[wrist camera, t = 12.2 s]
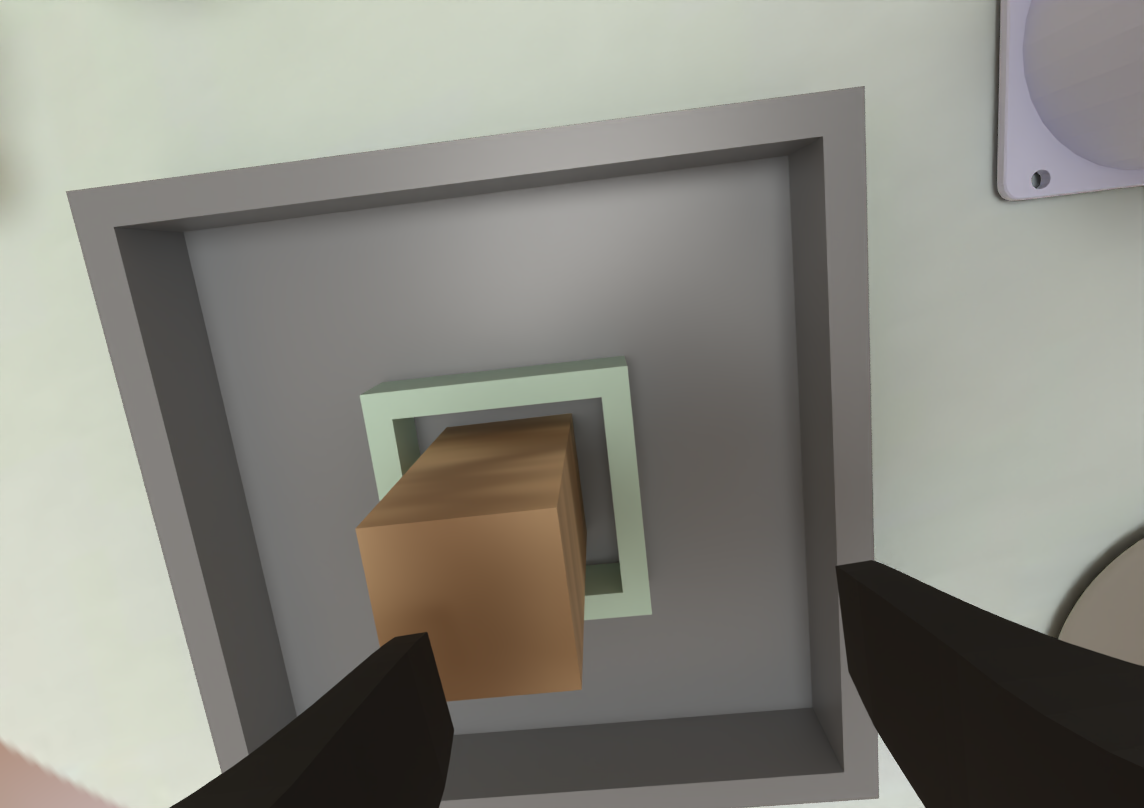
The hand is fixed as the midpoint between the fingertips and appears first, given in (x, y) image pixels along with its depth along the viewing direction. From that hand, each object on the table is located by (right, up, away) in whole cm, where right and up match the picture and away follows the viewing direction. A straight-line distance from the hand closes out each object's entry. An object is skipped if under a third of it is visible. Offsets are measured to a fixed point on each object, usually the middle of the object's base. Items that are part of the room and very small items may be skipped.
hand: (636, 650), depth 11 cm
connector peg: (-3, +2, +10) cm, 10 cm away
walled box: (-3, +2, +10) cm, 11 cm away
